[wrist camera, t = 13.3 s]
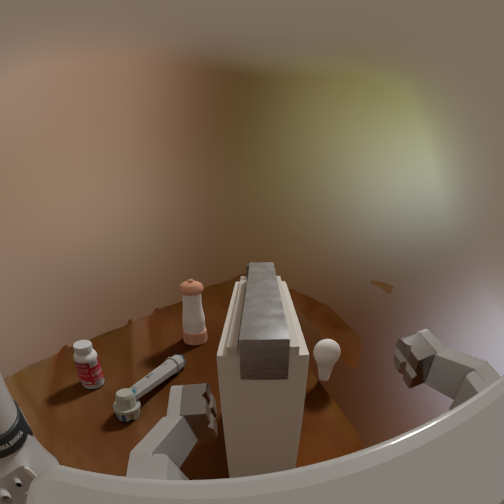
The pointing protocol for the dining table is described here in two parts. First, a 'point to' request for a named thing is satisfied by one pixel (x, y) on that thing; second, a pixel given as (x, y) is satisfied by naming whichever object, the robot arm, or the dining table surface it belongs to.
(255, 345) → the brushed metal bar
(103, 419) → the dining table surface
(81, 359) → the pill bottle
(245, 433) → the stand
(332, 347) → the lightbulb
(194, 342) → the pepper shaker
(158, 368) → the toothbrush head
